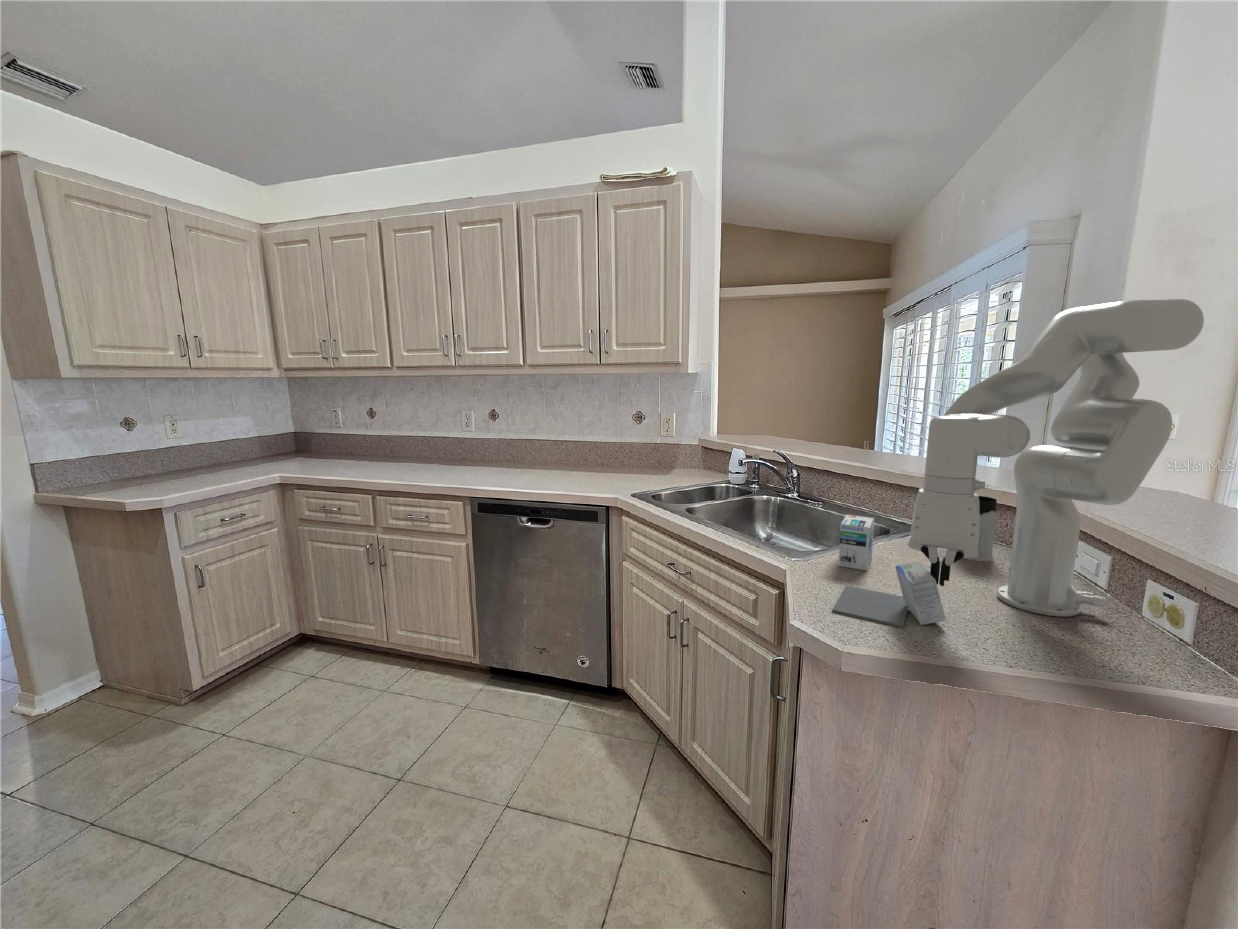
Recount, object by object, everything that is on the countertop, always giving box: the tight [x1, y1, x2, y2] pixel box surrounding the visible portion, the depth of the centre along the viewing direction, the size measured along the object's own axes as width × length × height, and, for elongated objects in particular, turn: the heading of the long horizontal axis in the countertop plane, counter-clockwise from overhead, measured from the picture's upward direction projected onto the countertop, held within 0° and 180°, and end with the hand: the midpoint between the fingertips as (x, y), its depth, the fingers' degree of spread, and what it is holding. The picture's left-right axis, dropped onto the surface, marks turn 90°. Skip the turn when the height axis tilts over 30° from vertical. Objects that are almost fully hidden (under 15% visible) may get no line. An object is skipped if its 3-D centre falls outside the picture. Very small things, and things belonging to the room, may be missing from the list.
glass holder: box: [964, 495, 998, 562], centre depth 127 cm, size 9×14×15 cm, turn 14°
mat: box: [831, 584, 909, 629], centre depth 97 cm, size 12×14×1 cm
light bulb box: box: [838, 514, 875, 572], centre depth 121 cm, size 11×7×11 cm, turn 148°
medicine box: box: [895, 560, 947, 626], centre depth 91 cm, size 8×4×9 cm, turn 169°
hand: (938, 582), depth 90 cm, fingers closed
